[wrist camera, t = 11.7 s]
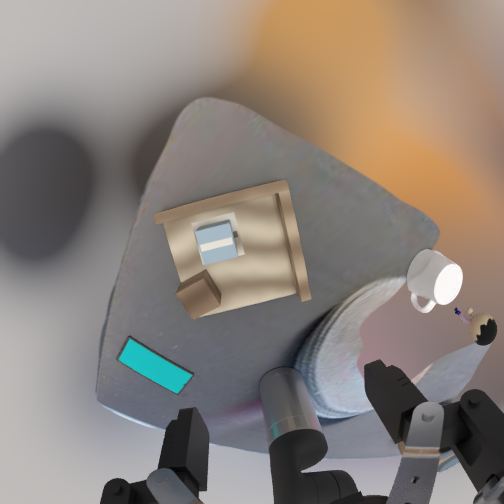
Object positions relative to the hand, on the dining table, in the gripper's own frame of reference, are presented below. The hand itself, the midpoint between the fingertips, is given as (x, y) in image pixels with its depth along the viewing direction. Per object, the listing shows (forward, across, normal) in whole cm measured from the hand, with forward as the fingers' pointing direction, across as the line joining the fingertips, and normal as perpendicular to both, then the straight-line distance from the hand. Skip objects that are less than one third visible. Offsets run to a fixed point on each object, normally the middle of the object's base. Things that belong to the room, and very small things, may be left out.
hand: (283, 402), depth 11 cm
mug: (+36, -33, +15) cm, 51 cm away
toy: (+36, -45, +28) cm, 64 cm away
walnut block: (+35, +9, +5) cm, 36 cm away
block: (+35, +4, -2) cm, 35 cm away
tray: (+36, +2, 0) cm, 36 cm away
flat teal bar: (+37, +24, +19) cm, 48 cm away
